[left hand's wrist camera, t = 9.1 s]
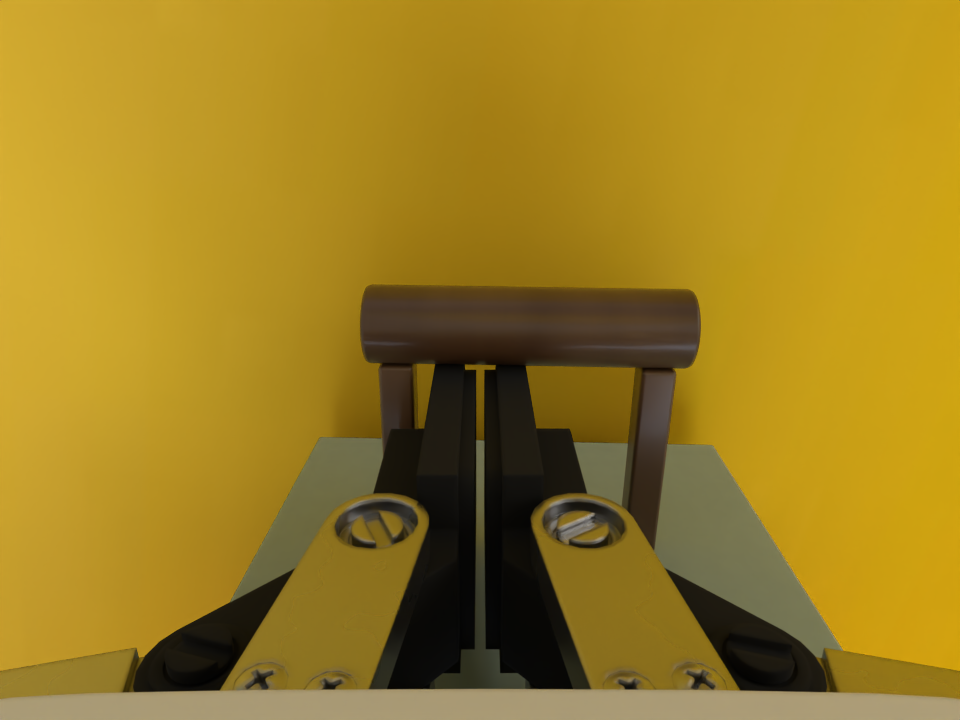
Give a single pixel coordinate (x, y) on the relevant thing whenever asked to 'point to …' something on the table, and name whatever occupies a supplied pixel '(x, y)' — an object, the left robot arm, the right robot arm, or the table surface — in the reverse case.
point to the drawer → (605, 466)
